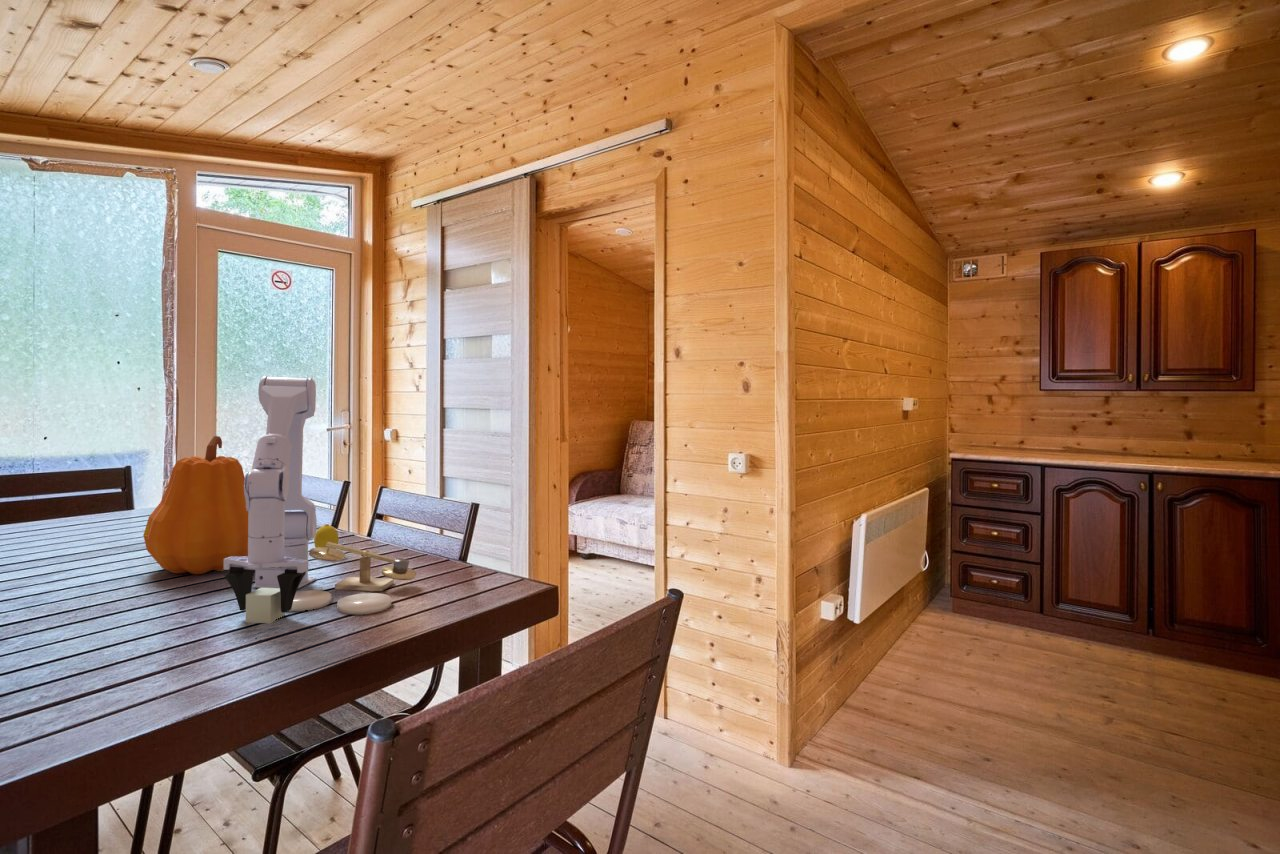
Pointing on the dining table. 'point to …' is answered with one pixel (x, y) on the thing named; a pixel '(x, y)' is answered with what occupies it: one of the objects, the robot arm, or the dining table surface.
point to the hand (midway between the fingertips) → (265, 609)
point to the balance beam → (394, 572)
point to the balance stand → (364, 579)
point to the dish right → (364, 603)
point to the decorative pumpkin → (200, 515)
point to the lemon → (326, 536)
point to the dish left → (310, 600)
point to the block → (263, 605)
